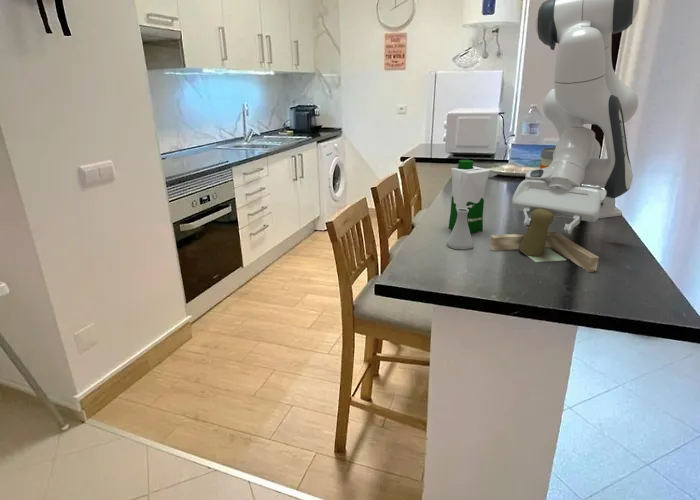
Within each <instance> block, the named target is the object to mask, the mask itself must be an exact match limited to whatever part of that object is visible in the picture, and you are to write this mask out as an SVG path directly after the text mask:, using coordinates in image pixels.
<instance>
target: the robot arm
mask: <svg viewBox="0 0 700 500" xmlns="http://www.w3.org/2000/svg"><path fill="white" fill-rule="evenodd" d="M639 3H640V1H639V0H546V1H544V2H542V3H541V5H540V6H539V9H538V12H537V14H536V18H535V30H536V31H535V32H536V34H537V37H538V39H539V41H541V43H542V44H543V45H546V46H548V47H549V48H550V50H551V51H555V49H556V48H555V47H556V45H558V46H557V51H556V56H555V57H556V58H555V65H554V88H552V89H550V90H549V92H547V94H546V96H544V99H543V102H542V103H543V104H542V110H543V114H544V117H546V119H547V120H548V121H550V122H551V124H552V125H553V127H555V129H556V131H557V134H558V136H559V139H558V141H557V144H556V145H555V147H554V148H555V151H554V153H553V161H552V163H551V164H550V165H549V167H546V168H542V169H540V168H538V169H530V170H527V171H526V173H525V179H524V180H522V181H521V182H520V183H519V184H518V186H517V188H516V190H514V194H513V195H512V199H511V204H512V207H513V208H514V210H516V211H521V212H523V214H524V220H523V226H524V227H529V226H530V223H531V217H529V216H531V214H532V212H533V211H534V210H535V209H545V210H548V211H550V212H552V213H553V216H554V217H560V218H567V219H571V220H572V221H571V222H570V223H565V224H564V227H563V233H564V234H567V235H571V234H572V231H573V229H574V228H575V227H577V226H579V224H580V223H581V221H584V222H590V223H594V222H596V221H598V219H604V218H606V219H607V218H611V217H620V216H622V215H623V212H622V210H621V209H619V208H618V207H616V198H619V197H620V196H622V195H624V194H626V193H627V192H629V190H630V189H631V186H632V184H633V175H634V173H633V170H632V165H631V161H630V156H629V151H628V142H627V135H626V127H625V126H626V125H625V123H627V122H628V121H630V120H631V119H632V118H633V117H634V115H635V114H636V113H637V110H638V106H639V98H638V95H637V92H636V91H635V90H634V89H633V88H631V87H630V86H628V85H627V84H625V83H624V82H623V81H622V80H621V79H620V78H619V77H618V75H617V74H616V72H615V70H614V68H613V67H614V66H613V61H612V60H613V59H612V42H613V41H612V40H613V39H612V38H613V36H612V35H615V34H618V33H621V32H623V31H627V29H628V28H629V27H630V26H632V25H633V22H634V20H635V18H636V16H637V14H638V10H639V6H640V5H639ZM584 125H596V126H598V127H599V128H600V129H601V130H602V132H603V136H604V142H605V150H606V156H607V158H600V155H601V145H600V142H599V141H598V140H597V139H596V132H594V130H592V129H591V128H589V127H586V126H585V127H584Z"/></svg>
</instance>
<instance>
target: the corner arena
mask: <svg viewBox="0 0 700 500" xmlns="http://www.w3.org/2000/svg"><path fill="white" fill-rule="evenodd" d="M525 234H526V232H525V233H511V234H510V233H509V234H508V233H507V234H493V235H492V234H491V235H490V241H489V249H490V250H491V251H494V252H495V251H509V250H510V251H511V250H512V251H513V250H519V251H520V252H521V253H523V254H524V255H526V257H527V258H529V259H530V260H532V261H533V262H534V263H546V262H547V263H548V262H549V263H550V262H567V261H566V260H567V259H568V260H569V259H570V260H569V261H571V262H573V263H574V264H575V265H577V266H578V267H580V268H581V267H582V268H581V269H582V270H584V269H585V270H584V271H586V272H587V273H589V272H590V273H593V272H594V271H595V272H597V268H598V264H599V259H600V257H599V256H597V255H596V254H594V253H593V252H592V251H589V250H587V249H586V248H584V247H582V246H581V245H579V244H577V243H576V242H574V241H572V240H570V239H569V238H567V237H565V236H564V235H562V234H560V233H558V232H557V231H550V232H549V231H548V232H547V237H546V243H545V248H544V253H543V255H542V256H533V255H529V254H526V253H524V252H522V251H521V250H520V249H519V246H520V244H521V242H522V240H523V238H524V236H525ZM554 250H555V251H554ZM561 255H562V256H561Z"/></svg>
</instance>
